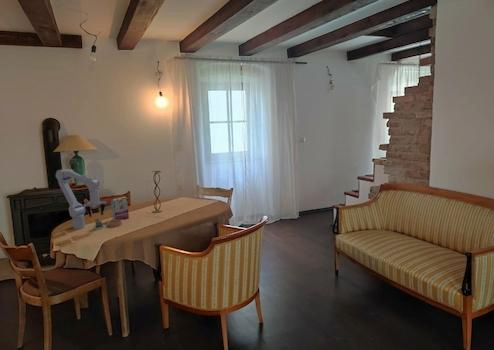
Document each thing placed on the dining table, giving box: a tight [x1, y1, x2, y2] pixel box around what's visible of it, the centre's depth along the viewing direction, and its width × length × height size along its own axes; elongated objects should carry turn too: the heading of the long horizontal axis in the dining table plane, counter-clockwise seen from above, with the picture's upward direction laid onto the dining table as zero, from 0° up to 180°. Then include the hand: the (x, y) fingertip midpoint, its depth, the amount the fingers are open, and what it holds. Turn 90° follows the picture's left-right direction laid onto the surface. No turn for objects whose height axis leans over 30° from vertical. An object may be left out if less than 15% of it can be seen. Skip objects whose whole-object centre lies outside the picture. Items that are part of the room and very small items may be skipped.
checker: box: [90, 224, 108, 232], centre depth 260 cm, size 10×10×2 cm
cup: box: [107, 219, 123, 228], centre depth 266 cm, size 10×10×4 cm
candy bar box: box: [110, 196, 130, 220], centre depth 284 cm, size 11×5×16 cm, turn 137°
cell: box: [94, 218, 103, 228], centre depth 260 cm, size 4×4×6 cm
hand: (96, 215), depth 257 cm, fingers open, 7 cm apart
